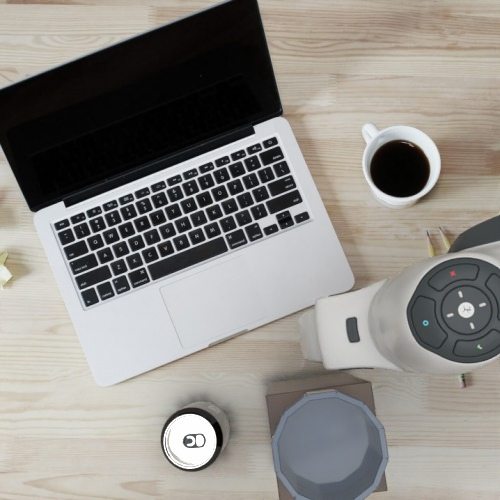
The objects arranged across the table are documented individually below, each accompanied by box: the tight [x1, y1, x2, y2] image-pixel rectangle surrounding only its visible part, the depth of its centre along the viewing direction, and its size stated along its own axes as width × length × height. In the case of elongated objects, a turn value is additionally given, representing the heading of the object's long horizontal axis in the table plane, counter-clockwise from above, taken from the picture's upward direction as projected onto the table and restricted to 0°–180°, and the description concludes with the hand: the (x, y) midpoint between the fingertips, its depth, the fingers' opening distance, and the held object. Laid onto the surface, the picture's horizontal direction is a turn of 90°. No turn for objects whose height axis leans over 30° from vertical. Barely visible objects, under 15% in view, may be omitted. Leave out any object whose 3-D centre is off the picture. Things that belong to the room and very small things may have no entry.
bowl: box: [270, 388, 390, 500], centre depth 57 cm, size 9×9×5 cm
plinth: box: [265, 372, 388, 500], centre depth 73 cm, size 9×9×27 cm
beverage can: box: [160, 401, 231, 473], centre depth 81 cm, size 7×7×12 cm
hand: (392, 327), depth 76 cm, fingers open, 8 cm apart
